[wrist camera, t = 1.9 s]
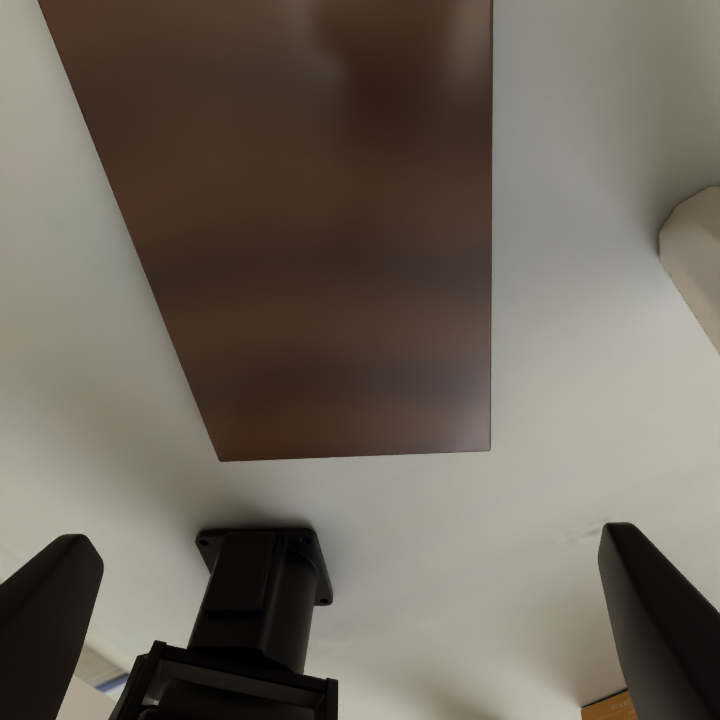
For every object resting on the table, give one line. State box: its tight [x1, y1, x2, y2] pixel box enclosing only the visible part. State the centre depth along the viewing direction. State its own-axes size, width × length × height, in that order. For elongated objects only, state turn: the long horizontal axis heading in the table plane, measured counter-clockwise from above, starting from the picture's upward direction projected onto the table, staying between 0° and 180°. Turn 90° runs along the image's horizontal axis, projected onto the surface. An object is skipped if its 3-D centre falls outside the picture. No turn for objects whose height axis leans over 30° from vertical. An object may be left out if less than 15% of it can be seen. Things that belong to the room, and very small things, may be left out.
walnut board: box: [38, 0, 493, 462], centre depth 19 cm, size 18×12×1 cm, turn 8°
